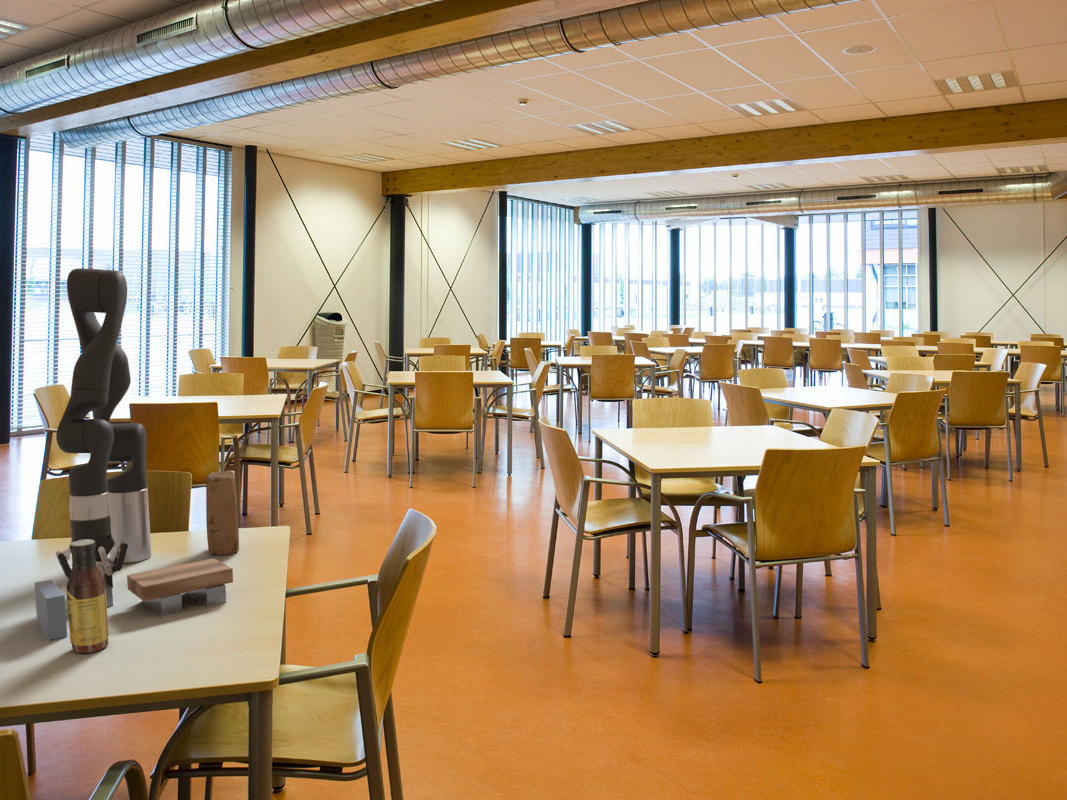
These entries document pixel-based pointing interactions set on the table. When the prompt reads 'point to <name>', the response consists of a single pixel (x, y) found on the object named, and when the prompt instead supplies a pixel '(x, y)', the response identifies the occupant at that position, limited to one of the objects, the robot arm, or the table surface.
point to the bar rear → (210, 595)
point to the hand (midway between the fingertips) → (95, 594)
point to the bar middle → (166, 604)
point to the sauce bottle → (86, 600)
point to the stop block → (51, 609)
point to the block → (221, 513)
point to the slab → (179, 579)
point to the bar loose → (108, 594)
